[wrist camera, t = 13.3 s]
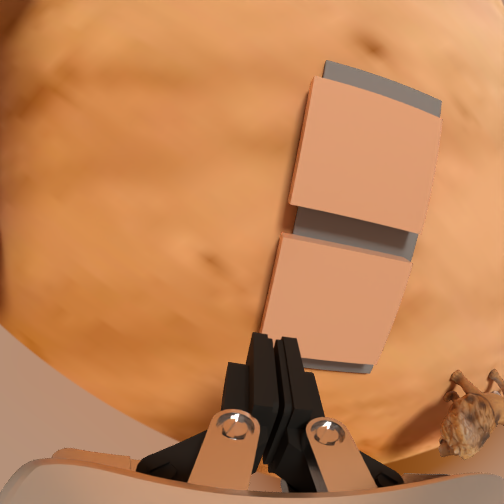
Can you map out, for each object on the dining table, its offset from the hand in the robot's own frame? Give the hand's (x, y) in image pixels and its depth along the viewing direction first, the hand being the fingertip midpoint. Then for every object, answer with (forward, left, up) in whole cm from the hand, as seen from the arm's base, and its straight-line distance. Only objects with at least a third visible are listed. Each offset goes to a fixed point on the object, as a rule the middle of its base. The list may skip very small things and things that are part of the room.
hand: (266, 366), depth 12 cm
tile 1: (+1, +1, -9) cm, 9 cm away
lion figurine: (+9, +24, -11) cm, 27 cm away
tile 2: (-9, +1, -9) cm, 13 cm away
